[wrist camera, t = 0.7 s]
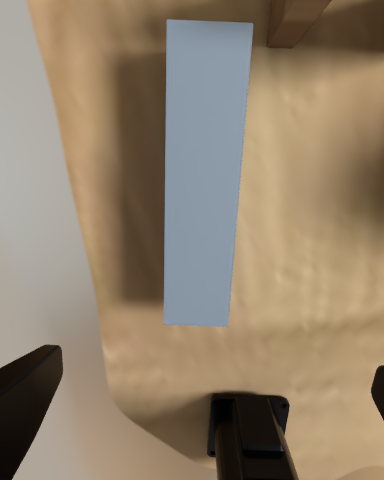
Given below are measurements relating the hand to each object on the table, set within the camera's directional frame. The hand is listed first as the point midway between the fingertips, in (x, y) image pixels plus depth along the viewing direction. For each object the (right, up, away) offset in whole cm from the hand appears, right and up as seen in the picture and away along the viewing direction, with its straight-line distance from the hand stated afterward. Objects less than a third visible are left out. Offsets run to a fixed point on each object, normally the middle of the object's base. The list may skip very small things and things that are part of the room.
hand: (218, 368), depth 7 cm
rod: (0, +7, +11) cm, 13 cm away
